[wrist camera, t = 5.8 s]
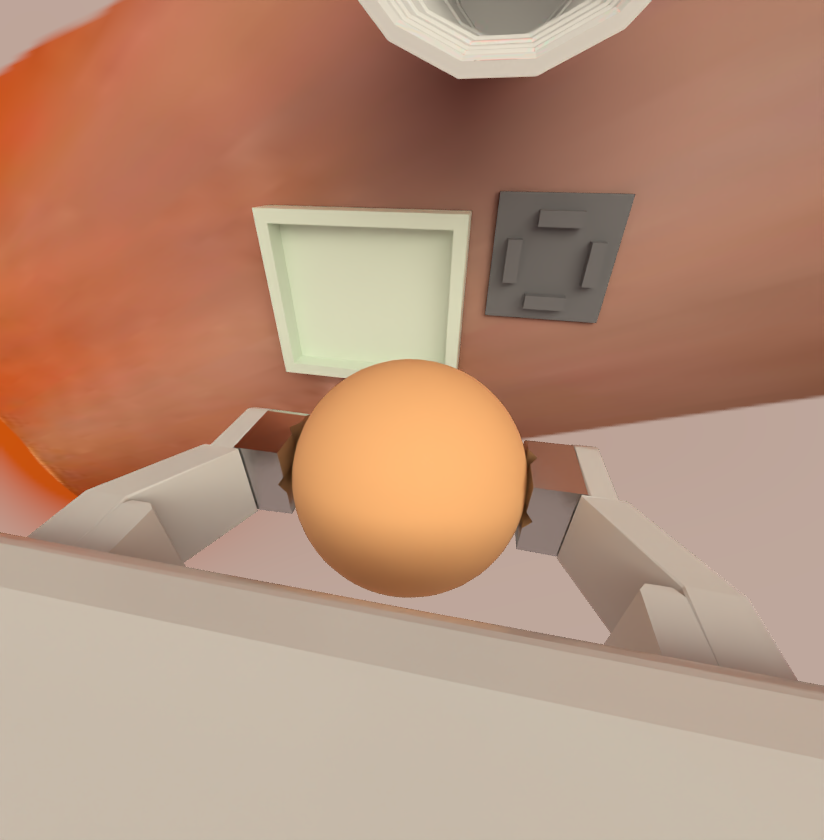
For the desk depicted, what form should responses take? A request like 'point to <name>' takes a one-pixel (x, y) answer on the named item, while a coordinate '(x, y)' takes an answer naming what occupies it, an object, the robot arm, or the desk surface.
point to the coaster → (555, 253)
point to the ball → (409, 478)
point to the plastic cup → (499, 31)
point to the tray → (364, 284)
